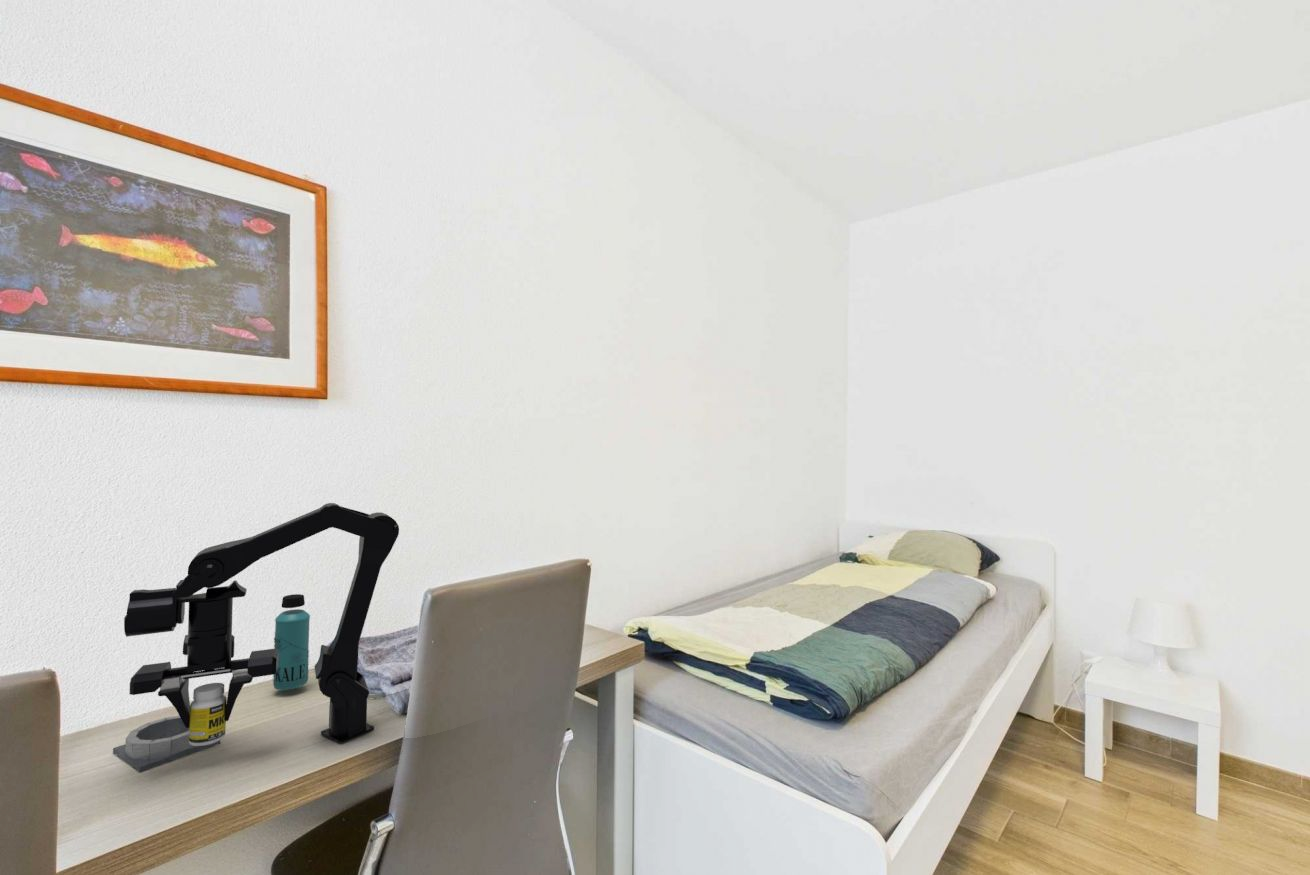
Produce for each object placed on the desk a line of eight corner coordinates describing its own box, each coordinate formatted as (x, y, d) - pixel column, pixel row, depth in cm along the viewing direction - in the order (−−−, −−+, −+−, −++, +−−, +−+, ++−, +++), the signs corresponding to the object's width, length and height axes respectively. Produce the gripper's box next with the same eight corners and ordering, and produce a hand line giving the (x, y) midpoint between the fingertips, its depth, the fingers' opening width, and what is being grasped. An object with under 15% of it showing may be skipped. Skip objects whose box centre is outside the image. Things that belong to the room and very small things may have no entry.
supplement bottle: (210, 747, 93) (212, 693, 94) (181, 746, 93) (182, 693, 94) (232, 732, 98) (234, 681, 98) (204, 732, 98) (205, 681, 98)
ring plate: (220, 743, 102) (220, 723, 102) (139, 772, 93) (140, 751, 93) (191, 727, 108) (192, 708, 108) (113, 753, 98) (113, 732, 99)
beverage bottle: (294, 683, 128) (296, 590, 129) (316, 688, 126) (318, 593, 126) (264, 694, 122) (267, 597, 123) (286, 700, 120) (289, 600, 120)
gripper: (281, 607, 108) (279, 694, 107) (149, 620, 99) (147, 715, 98) (277, 623, 98) (274, 719, 98) (129, 640, 89) (126, 745, 89)
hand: (207, 723), depth 96 cm, fingers closed on supplement bottle, 5 cm apart
